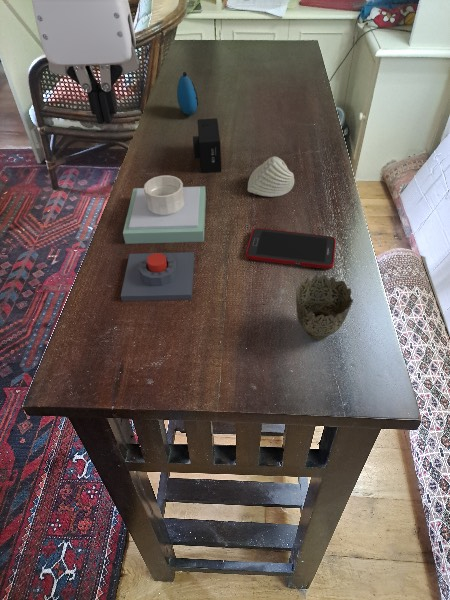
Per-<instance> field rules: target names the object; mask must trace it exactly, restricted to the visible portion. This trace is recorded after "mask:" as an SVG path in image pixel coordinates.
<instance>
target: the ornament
mask: <svg viewBox="0 0 450 600" xmlns="http://www.w3.org/2000/svg"><path fill="white" fill-rule="evenodd" d="M176 98H177V103H178V106H179V108H180V110H181V111H183V112H182V113H184V114H185V115H187V116H192V115H194V114H195V113H196V111H197V108H198V106H199V98H198V93H197V90H196V87H195V84H194V82H193V81H191V79H190V77H189V76H188V75H187V72H186V71H183V72H182V75H181V76H180V77H179V79H178V83H177V89H176Z"/></svg>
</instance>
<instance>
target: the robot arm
mask: <svg viewBox="0 0 450 600" xmlns="http://www.w3.org/2000/svg"><path fill="white" fill-rule="evenodd" d="M31 3H32V9H33V14H34V18H35V23H36V27H37V32H38V36H39V40H40V45H41V47H42V50H43V53H44V56H45V58H46V60H47V61H48V70H49V72H50V73H51V74H53V75H58V76H63V77H68V78H70V79H71V80H72V81H74V82H75V83H76V84H78V86H80V87H81V89H82V91H83V93H86V96H87V100H88V103H89V107H90V112H91V114H92V115H95V117H96V122H97V124H98V125H103V124H105V123H106V124H107V125H108V124H110V125H111V124H112V121H113V118H114V116H115V115H117V113H118V105H117V99H116V96H115V90H114V86H115V84H116V83H117V81H118V80H119V78H121V76H122V75H127V74H130V73H134V72H137V71H138V70H139V67H140V65H141V63H140V62H141V61H140V59H139V57H138V54H137V52H136V51H137V50H136V45H137V42H136V41H137V40H136V31H135V27H134V21H133V17H132V13H131V8H130V3H129V0H31ZM92 66H98V67H99V76H100V77H99V78H100V82H99V81H98V79H97V78H96V75H95V73H94V69H93V68H92Z"/></svg>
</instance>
